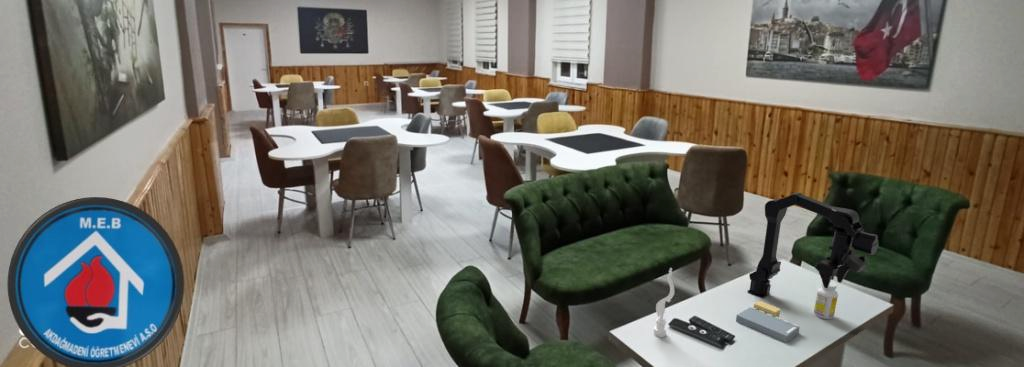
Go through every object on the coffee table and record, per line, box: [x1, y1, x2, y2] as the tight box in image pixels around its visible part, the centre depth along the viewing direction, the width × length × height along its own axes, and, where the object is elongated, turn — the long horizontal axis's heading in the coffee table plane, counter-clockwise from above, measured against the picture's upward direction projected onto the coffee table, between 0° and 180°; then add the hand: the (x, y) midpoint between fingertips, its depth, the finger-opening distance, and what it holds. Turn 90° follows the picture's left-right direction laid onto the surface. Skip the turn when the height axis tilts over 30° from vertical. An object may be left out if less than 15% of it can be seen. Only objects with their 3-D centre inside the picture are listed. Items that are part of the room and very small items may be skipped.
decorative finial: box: [653, 267, 675, 338], centre depth 188 cm, size 6×4×25 cm
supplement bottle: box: [813, 281, 839, 320], centre depth 207 cm, size 7×7×13 cm
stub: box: [753, 300, 781, 318], centre depth 206 cm, size 8×4×4 cm, turn 40°
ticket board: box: [735, 306, 801, 343], centre depth 198 cm, size 18×10×3 cm, turn 40°
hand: (832, 285), depth 201 cm, fingers open, 9 cm apart
